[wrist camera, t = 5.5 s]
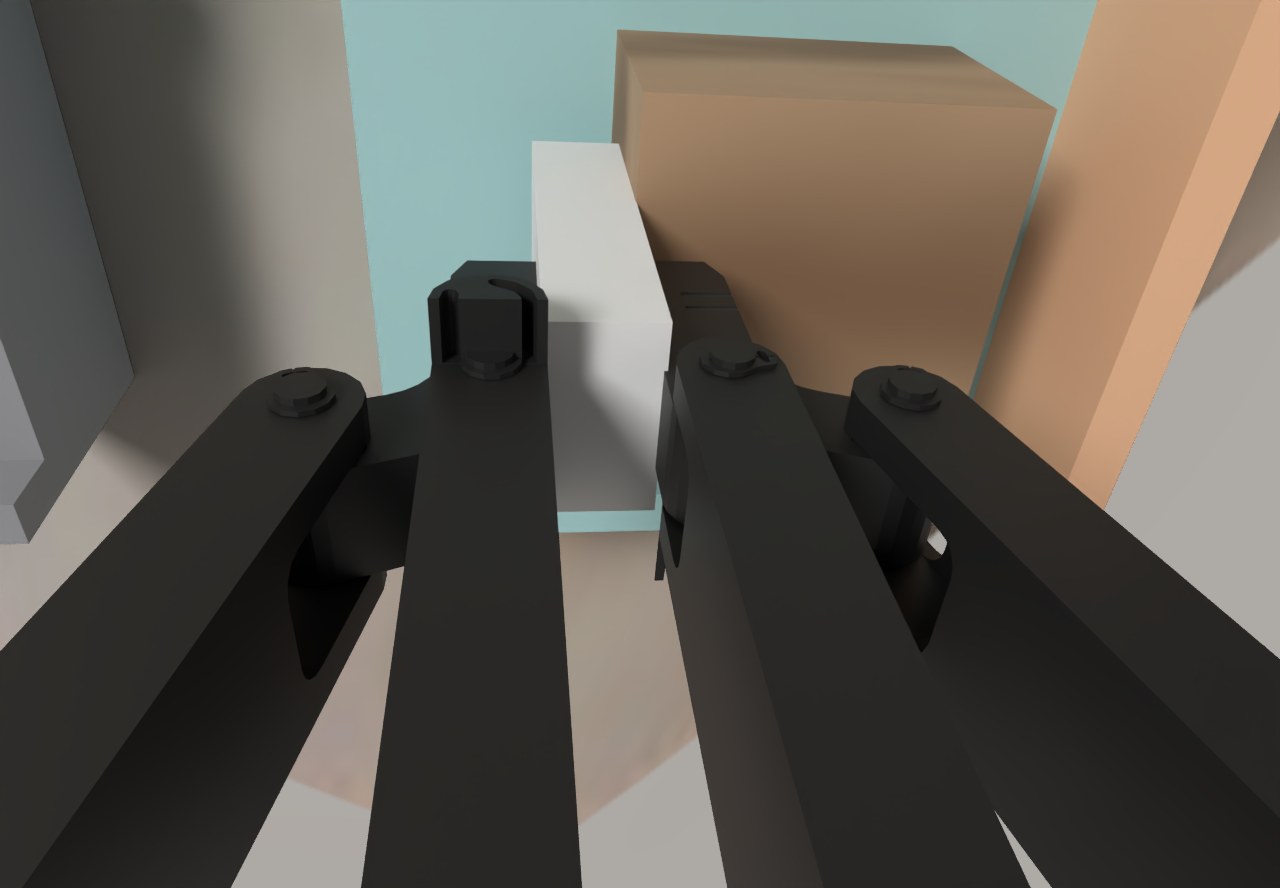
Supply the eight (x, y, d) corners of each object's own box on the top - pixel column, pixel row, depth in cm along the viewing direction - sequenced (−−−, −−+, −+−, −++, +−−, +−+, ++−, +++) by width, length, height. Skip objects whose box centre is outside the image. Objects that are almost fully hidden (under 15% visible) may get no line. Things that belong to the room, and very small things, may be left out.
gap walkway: (-968, -398, 15) (-2452, -580, 7) (1074, -223, 19) (1428, -227, 12) (-439, 378, 23) (-898, 663, 15) (914, 377, 27) (1064, 600, 20)
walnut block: (617, 29, 16) (643, 92, 13) (951, 46, 17) (1057, 109, 14) (601, 341, 19) (619, 453, 16) (880, 342, 20) (951, 450, 17)
